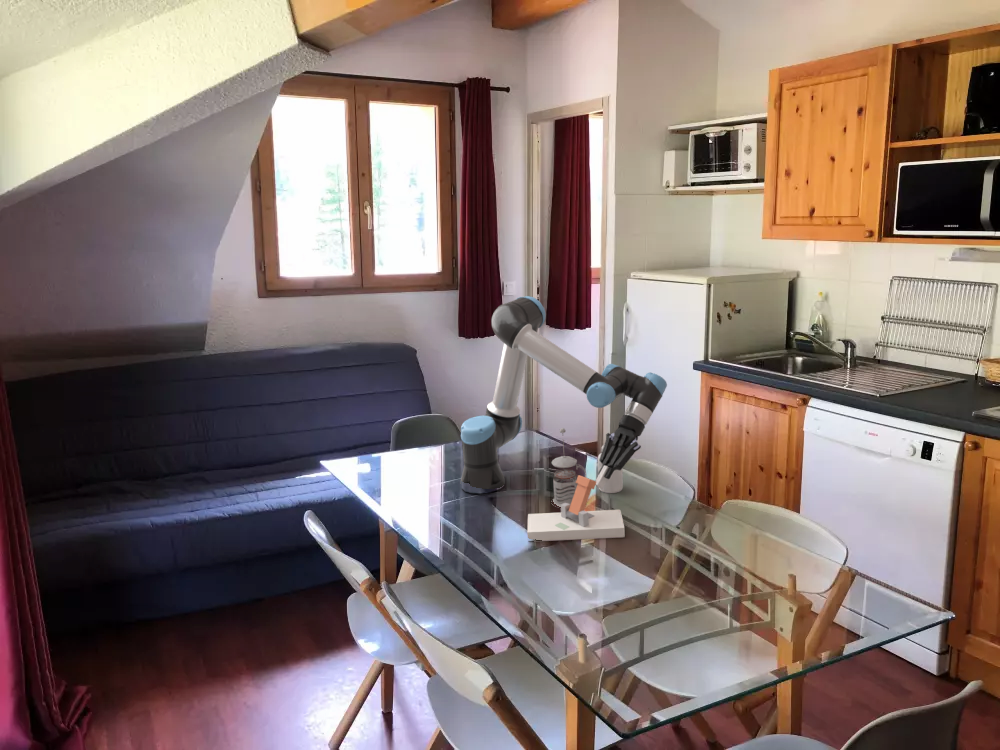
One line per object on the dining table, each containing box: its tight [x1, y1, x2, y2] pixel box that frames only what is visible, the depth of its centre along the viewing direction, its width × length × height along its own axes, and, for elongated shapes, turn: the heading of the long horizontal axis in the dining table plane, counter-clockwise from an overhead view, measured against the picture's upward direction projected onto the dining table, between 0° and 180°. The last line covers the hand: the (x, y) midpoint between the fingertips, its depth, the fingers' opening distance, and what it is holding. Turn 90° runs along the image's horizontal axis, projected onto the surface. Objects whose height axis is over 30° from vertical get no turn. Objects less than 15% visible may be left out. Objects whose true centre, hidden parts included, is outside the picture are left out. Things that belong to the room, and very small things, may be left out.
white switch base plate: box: [527, 502, 626, 542], centre depth 237 cm, size 28×12×7 cm, turn 87°
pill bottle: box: [597, 444, 624, 494], centre depth 262 cm, size 8×8×15 cm
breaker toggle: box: [566, 474, 596, 522], centre depth 237 cm, size 3×5×13 cm, turn 38°
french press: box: [551, 427, 588, 508], centre depth 254 cm, size 10×12×25 cm
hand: (598, 486), depth 241 cm, fingers closed
